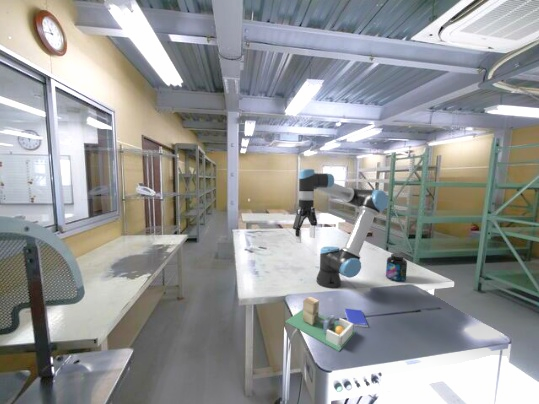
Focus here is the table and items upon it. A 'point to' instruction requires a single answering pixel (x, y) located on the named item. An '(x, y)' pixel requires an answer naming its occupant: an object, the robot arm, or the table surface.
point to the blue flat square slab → (356, 317)
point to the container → (396, 268)
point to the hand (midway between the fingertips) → (305, 239)
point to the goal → (344, 335)
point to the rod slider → (316, 314)
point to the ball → (339, 330)
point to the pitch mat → (314, 329)
